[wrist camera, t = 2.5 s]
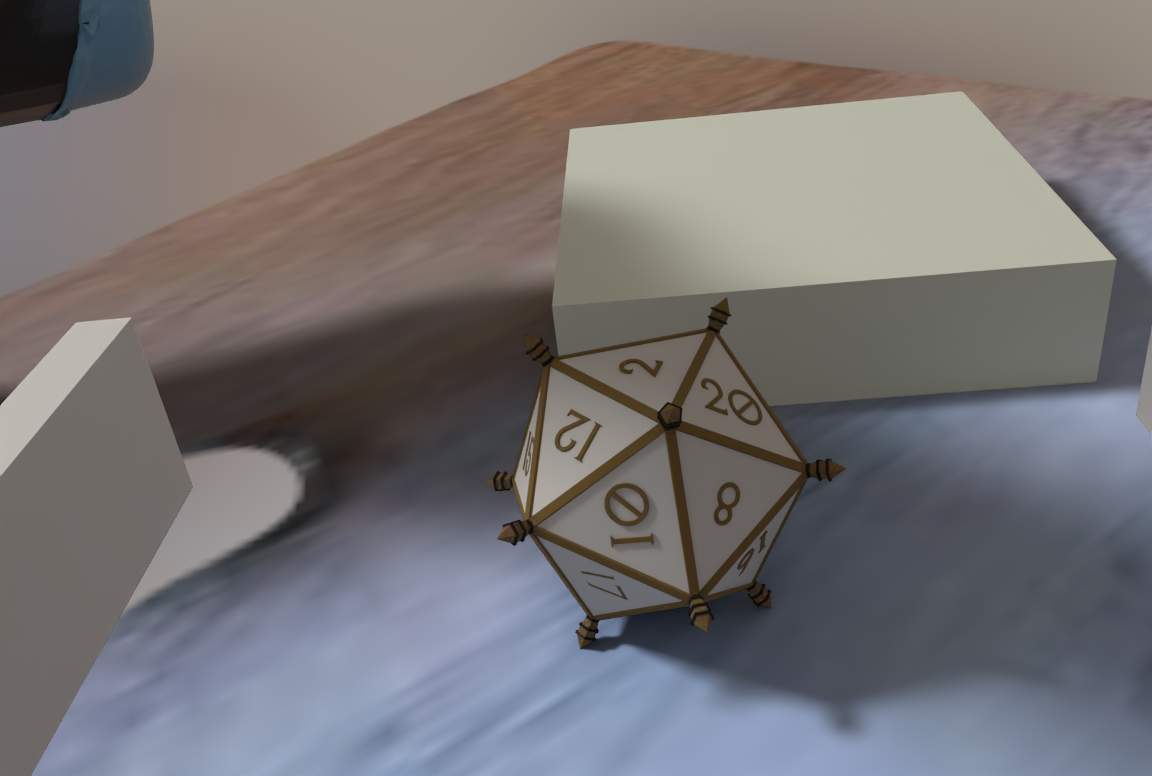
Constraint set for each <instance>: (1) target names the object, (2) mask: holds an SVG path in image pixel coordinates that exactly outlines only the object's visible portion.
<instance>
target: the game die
mask: <svg viewBox="0 0 1152 776" xmlns="http://www.w3.org/2000/svg"><path fill="white" fill-rule="evenodd" d="M710 309H712V311H711V314H710V316H709V315H708V318H709V323H708V326H707V328H705V329H699V330H694V331H689V332H683V333H678V334H673V335H667V336H662V337H657V338H651V339H646V340H641V341H635V342H630V343H625V344H619V345H614V346H609V347H603V348H598V349H593V350H588V351H582V352H577V353H572V354H566V355H561V356H556V357H553V356H551V354H550V352H549V347H548V346H547V345H546V346H545V345H544V344H543V343H542V342H543V340H542V339H541V338H540V339H537V338H534V337H531V336H528V335H525V334H524V335H525V342H526V348H527V352H526V354H527V355H528V354H530V355H531V356H532V357H533V359H532V360H533V361H535V360H536V361H538V362H540V363H541V364H542V365H543V370H542V374H541V377H540V381H539V384H538V388H537V391H536V395H535V399H534V402H533V406H532V409H531V413H530V416H529V420H528V424H527V427H526V431H525V434H524V438H523V441H522V445H521V448H520V452H519V456H518V459H517V463H516V466H515V470H514V473H513V475H510V474H508V473H507V472H504V473H500V472H499V471H497V473H496V474H495V476H494V477H492V478H491V479H490V480H489V481H487V482H486V483H487V484H488V485H490V486H491V487H492V488H494V490H495V491H503V490H510V488H512V487H513V488H514V492H515V495H516V498H517V502H518V505H519V508H520V512H521V515H522V518H523V521H521V520H517V521H514V522H511V523H508V524H505V525H503V529H502V531H501V533H500V535H499V536H498V538H497V539H498V540H502V541H506V542H509V543H511V544H513V545H514V546H515V545H516V544H517V542H518V541H521V542H523V541H524V539H525V537H526V536H527V535H528V534H529V535H530V536H531V538H532V539H533V541H534V542H535V543H536V545H537V546H538V548H539V549H540V550H541V552H542V553H543V554H544V556H545V557H546V559H547V560H548V561H549V563H550V564H551V566H552V567H553V568H554V570H555V571H556V572H557V574H558V575H559V577H560V578H561V579H562V581H563V582H564V584H565V585H566V586H567V588H568V589H569V590H570V592H571V593H572V595H573V596H574V597H575V599H576V600H577V602H578V603H579V604H580V606H581V607H582V608H583V610H584V611H585V613H586V614H587V616H586V619H585V620H584V621H583V622H581V623H580V624H579V625H580V628H579V630H577V631H576V632H575V633H577V635H578V640H579V645H580V649H581V648H582V647H584V646H586V645H587V644H589V643H590V642H592V641H595V640H596V639H595V635H596V633H598V632H599V631H598V628H597V626H598V622H599V621H600V620H606V619H612V618H618V617H624V616H631V615H637V614H643V613H649V612H655V611H662V610H668V609H674V608H680V607H687V606H690V610H689V612H688V616H691V621H690V624H691V625H696V626H698V627H699V628H701V629H702V630H704V631H705V632H708V630H709V627H710V624H711V622H712V621H713V620H714V617H713V615H712V613H711V610H710V608H709V606H708V604H707V601H711V600H714V599H717V598H720V597H723V596H727V595H730V594H733V593H736V592H739V591H743V590H748V592H749V593H748V595H749V597H750V598H751V599H752V600H753V602H754V603H755V604H756V605H757V607H758V606H764V607H769V608H771V602H770V592H771V590H767V589H766V588H765V585H764V584H759V583H758V582H756V578H757V576H758V574H759V572H760V570H761V569H762V567H763V565H764V563H765V561H766V559H767V557H768V555H769V553H770V551H771V549H772V547H773V545H774V543H775V541H776V539H777V537H778V535H779V533H780V532H781V530H782V528H783V526H784V524H785V522H786V520H787V518H788V516H789V514H790V512H791V510H792V508H793V506H794V504H795V502H796V500H797V498H798V496H799V495H800V493H801V491H802V489H803V487H804V485H805V483H806V481H807V479H808V478H810V477H813V478H817V479H818V480H819V481H822V479H828V481H829V482H831V480H832V478H833V477H835V476H836V475H838V474H839V473H840V472H842V471H843V470H845V469H846V468H844V467H842V466H840V465H838V464H836V463H834V462H832V460H831V459H826V461H822V460H816V462H814V463H811V464H809V463H808V462H807V461H806V459H805V458H804V456H803V455H802V454H801V452H800V451H799V449H798V448H797V446H796V445H795V443H794V442H793V440H792V439H791V437H790V436H789V435H788V433H787V432H786V430H785V429H784V427H783V426H782V424H781V423H780V421H779V420H778V418H777V417H776V416H775V414H774V413H773V411H772V410H771V408H770V407H769V405H768V404H767V402H766V401H765V399H764V398H763V397H762V395H761V394H760V392H759V391H758V389H757V388H756V386H755V385H754V383H753V382H752V380H751V379H750V378H749V376H748V375H747V373H746V372H745V370H744V369H743V367H742V366H741V364H740V363H739V361H738V360H737V359H736V357H735V356H734V354H733V353H732V351H731V350H730V348H729V347H728V345H727V344H726V342H725V341H724V340H723V338H722V337H721V335H720V330H721V329H722V328H723V326H724V325H727V324H728V323H726V322H727V320H728V317H729V316H730V317H731V316H732V315H731V314H730V312H729V306H728V299H727V297H726V298H725V299H724V300H722V301H721V302H719V303H718V304H717V305H715V306H714V307H711V308H710Z"/></svg>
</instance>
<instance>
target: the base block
mask: <svg viewBox="0 0 1152 776" xmlns="http://www.w3.org/2000/svg"><path fill="white" fill-rule="evenodd" d="M1116 261H1117V259H1116V258H1115V257H1114V256H1113V255H1112V254H1111V253H1110V252H1109V251H1108V250H1107V248H1106V247H1105V246H1104V245H1103V244H1102V243H1101V242H1100V241H1099V240H1098V239H1097V238H1096V236H1095V235H1094V234H1093V233H1092V232H1091V231H1090V230H1089V229H1088V228H1087V227H1086V226H1085V225H1084V223H1083V222H1082V221H1081V220H1080V219H1079V218H1078V217H1077V216H1076V215H1075V214H1074V213H1073V211H1072V210H1071V209H1070V208H1069V207H1068V206H1067V205H1066V204H1065V203H1064V202H1063V201H1062V199H1061V198H1060V197H1059V196H1058V195H1057V194H1056V193H1055V192H1054V191H1053V190H1052V189H1051V187H1050V186H1049V185H1048V184H1047V183H1046V182H1045V181H1044V180H1043V179H1042V178H1041V177H1040V176H1039V174H1038V173H1037V172H1036V171H1035V170H1034V169H1033V168H1032V167H1031V166H1030V165H1029V164H1028V162H1027V161H1026V160H1025V159H1024V158H1023V157H1022V156H1021V155H1020V154H1019V153H1018V152H1017V150H1016V149H1015V148H1014V147H1013V146H1012V145H1011V144H1010V143H1009V142H1008V141H1007V140H1006V139H1005V137H1004V136H1003V135H1002V134H1001V133H1000V132H999V131H998V130H997V129H996V128H995V127H994V125H993V124H992V123H991V122H990V121H989V120H988V119H987V118H986V117H985V116H984V115H983V113H982V112H981V111H980V110H979V109H978V108H977V107H976V106H975V105H974V104H973V103H972V101H971V100H970V99H969V98H968V97H967V96H966V95H965V94H964V93H963V92H951V93H941V94H931V95H920V96H910V97H899V98H889V99H879V100H868V101H858V102H847V103H837V104H827V105H816V106H806V107H795V108H785V109H775V110H764V111H754V112H743V113H733V114H723V115H712V116H702V117H691V118H681V119H671V120H660V121H650V122H639V123H629V124H619V125H608V126H598V127H587V128H577V129H570V137H569V146H568V156H567V166H566V175H565V185H564V195H563V204H562V214H561V223H560V233H559V243H558V252H557V262H556V272H555V281H554V291H553V301H552V311H553V318H554V326H555V333H556V341H557V348H558V356H561V355H566V354H572V353H577V352H582V351H588V350H593V349H598V348H603V347H609V346H614V345H619V344H625V343H630V342H635V341H641V340H646V339H651V338H657V337H662V336H667V335H673V334H678V333H683V332H689V331H694V330H699V329H705V328H707V326H708V323H709V318H708V315H709V316H710V314H711V311H712V309H710V308H711V307H714V306H715V305H717V304H718V303H719V302H721V301H722V300H724V299H725V298H726V297H727V299H728V306H729V312H730V314H731V315H732V316H731V317H730V316H729V317H728V320H727V322H726V323H728V324H727V325H724V326H723V328H722V329H721V330H720V335H721V337H722V338H723V340H724V341H725V342H726V344H727V345H728V347H729V348H730V350H731V351H732V353H733V354H734V356H735V357H736V359H737V360H738V361H739V363H740V364H741V366H742V367H743V369H744V370H745V372H746V373H747V375H748V376H749V378H750V379H751V380H752V382H753V383H754V385H755V386H756V388H757V389H758V391H759V392H760V394H761V395H762V397H763V398H764V399H765V401H766V402H767V404H768V405H769V406H779V405H792V404H806V403H819V402H832V401H846V400H859V399H873V398H886V397H900V396H913V395H927V394H940V393H953V392H967V391H980V390H994V389H1007V388H1021V387H1034V386H1048V385H1061V384H1075V383H1088V382H1097V376H1098V370H1099V364H1100V358H1101V352H1102V346H1103V340H1104V333H1105V327H1106V321H1107V315H1108V309H1109V303H1110V297H1111V291H1112V285H1113V279H1114V273H1115V267H1116Z"/></svg>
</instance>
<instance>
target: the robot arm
mask: <svg viewBox="0 0 1152 776" xmlns="http://www.w3.org/2000/svg"><path fill="white" fill-rule="evenodd" d="M153 55H154V35H153V23H152V14H151V6H150V0H0V127H4V126H9V125H14V124H20V123H25V122H31V121H36V120H42V121H52V120H58V119H60V118H63V117H64V116H66V115H67V114H69V113H70V112H71V111H72V110H76V109H80V108H84V107H88V106H92V105H96V104H100V103H103V102H107V101H112V100H115V99H119V98H122V97H125V96H127V95H129V94H131V93H133V92H134V91H135V90H136V89H138V88H139V87H140V86H141V85H142V84H143V82H144V81H145V80H146V78H147V76H148V74H149V72H150V69H151V66H152V63H153ZM1136 416H1137V417H1138V419H1139V420H1140V421H1141V423H1142V424H1143V425H1144V427H1145V428H1146V429H1147V431H1148V432H1149V433H1150V435H1151V436H1152V327H1151V333H1150V338H1149V344H1148V350H1147V355H1146V361H1145V367H1144V372H1143V378H1142V384H1141V390H1140V395H1139V401H1138V407H1137V412H1136ZM192 487H193V486H192V483H191V481H190V478H189V475H188V472H187V469H186V467H185V464H184V461H183V458H182V456H181V453H180V450H179V447H178V444H177V442H176V439H175V436H174V433H173V431H172V428H171V425H170V422H169V420H168V417H167V414H166V411H165V408H164V406H163V403H162V400H161V397H160V395H159V392H158V389H157V386H156V383H155V381H154V378H153V375H152V372H151V370H150V367H149V364H148V361H147V358H146V356H145V353H144V350H143V347H142V345H141V342H140V339H139V336H138V333H137V331H136V328H135V325H134V322H133V320H132V317H131V318H120V319H109V320H97V321H86V322H76V323H75V324H74V325H73V326H72V327H71V329H70V330H69V331H68V332H67V333H66V334H65V335H64V336H63V337H62V338H61V340H60V341H59V342H58V343H57V344H56V345H55V346H54V347H53V348H52V349H51V350H50V352H49V353H48V354H47V355H46V356H45V357H44V358H43V359H42V360H41V361H40V362H39V364H38V365H37V366H36V367H35V368H34V369H33V370H32V371H31V372H30V373H29V374H28V376H27V377H26V378H25V379H24V380H23V381H22V382H21V383H20V384H19V385H18V387H17V388H16V389H15V390H14V391H13V392H12V393H11V394H10V395H9V396H8V397H7V399H6V400H5V401H4V402H3V403H2V404H1V405H0V776H31V775H32V773H33V771H34V769H35V767H36V766H37V764H38V762H39V760H40V759H41V757H42V755H43V753H44V751H45V750H46V748H47V746H48V744H49V742H50V741H51V739H52V737H53V735H54V734H55V732H56V730H57V728H58V726H59V725H60V723H61V721H62V719H63V717H64V716H65V714H66V712H67V710H68V709H69V707H70V705H71V703H72V701H73V700H74V698H75V696H76V694H77V693H78V691H79V689H80V687H81V685H82V684H83V682H84V680H85V678H86V676H87V675H88V673H89V671H90V669H91V668H92V666H93V664H94V662H95V660H96V659H97V657H98V655H99V653H100V651H101V650H102V648H103V646H104V644H105V643H106V641H107V639H108V637H109V635H110V634H111V632H112V630H113V628H114V627H115V625H116V623H117V621H118V619H119V618H120V616H121V614H122V612H123V610H124V609H125V607H126V605H127V603H128V602H129V600H130V598H131V596H132V594H133V593H134V590H135V589H136V587H137V585H138V584H139V582H140V580H141V578H142V576H143V575H144V573H145V571H146V569H147V568H148V566H149V564H150V562H151V560H152V559H153V557H154V555H155V553H156V551H157V550H158V548H159V546H160V544H161V543H162V541H163V539H164V537H165V536H166V534H167V532H168V530H169V528H170V527H171V525H172V523H173V521H174V519H175V518H176V516H177V514H178V512H179V511H180V509H181V507H182V505H183V503H184V501H185V500H186V498H187V496H188V495H189V492H190V491H191V489H192Z"/></svg>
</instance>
